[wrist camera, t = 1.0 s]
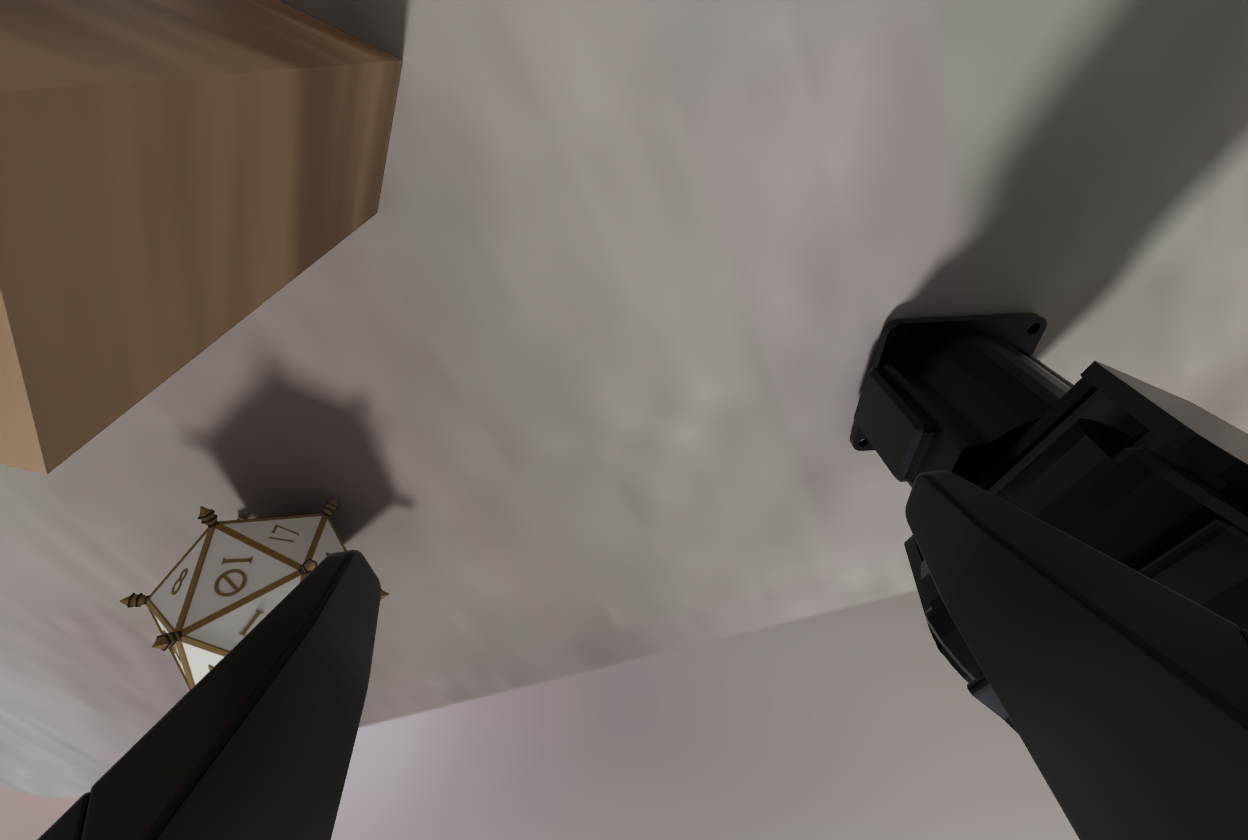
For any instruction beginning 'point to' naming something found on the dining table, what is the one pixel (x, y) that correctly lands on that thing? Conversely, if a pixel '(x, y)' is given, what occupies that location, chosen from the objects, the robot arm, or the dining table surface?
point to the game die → (234, 583)
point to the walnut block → (164, 190)
